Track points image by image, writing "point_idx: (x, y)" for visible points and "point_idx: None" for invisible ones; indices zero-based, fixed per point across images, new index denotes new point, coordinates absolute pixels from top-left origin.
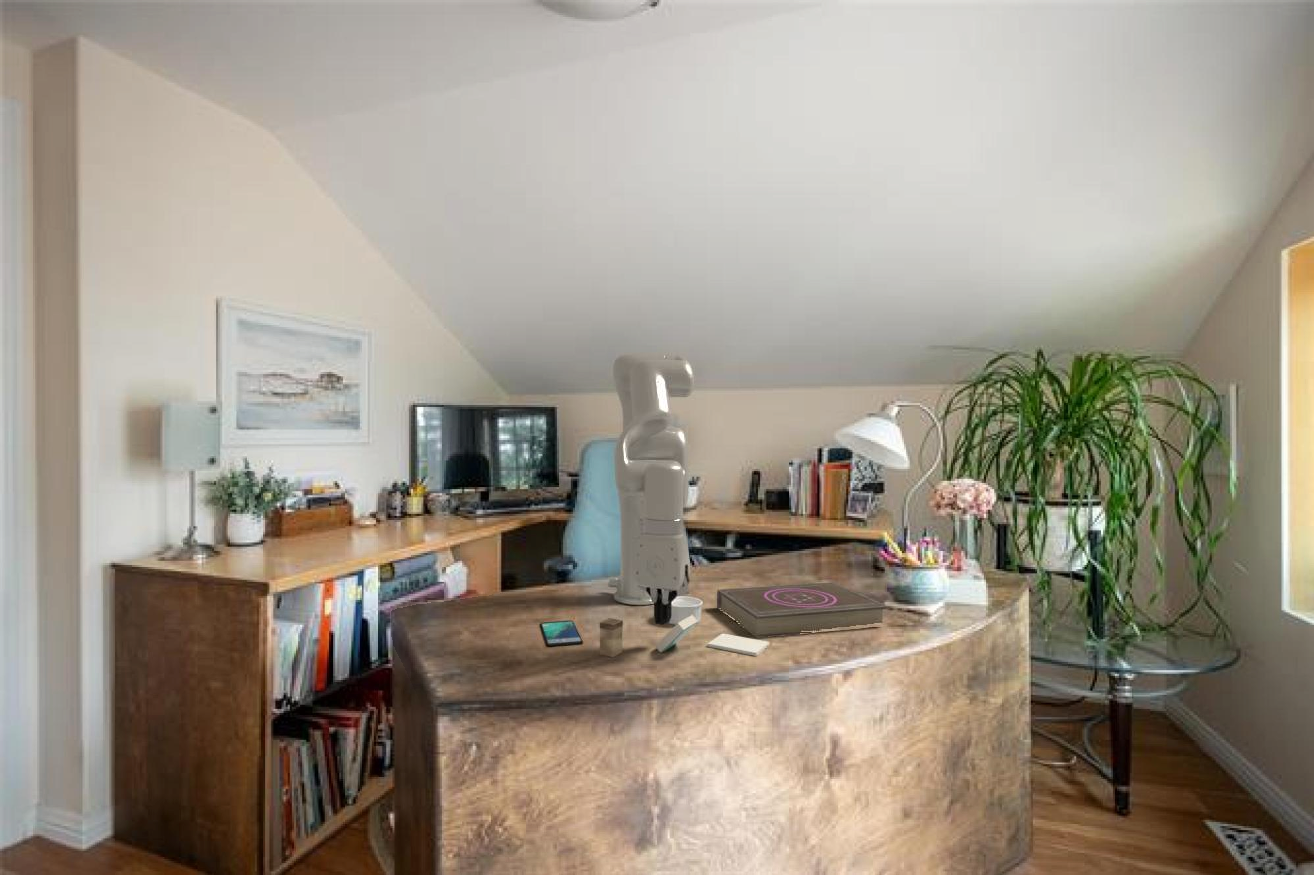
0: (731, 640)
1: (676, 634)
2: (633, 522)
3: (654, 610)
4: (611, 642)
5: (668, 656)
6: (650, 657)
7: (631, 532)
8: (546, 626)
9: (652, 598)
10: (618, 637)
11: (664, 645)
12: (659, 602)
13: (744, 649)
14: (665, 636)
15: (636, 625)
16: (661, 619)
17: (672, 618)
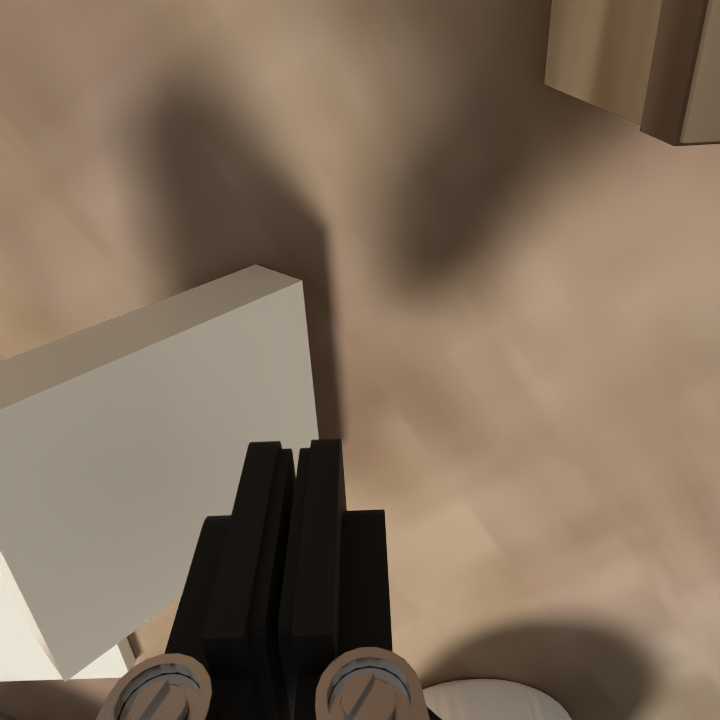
0: (6, 623)
1: (30, 356)
2: None
3: (381, 566)
4: None
5: (149, 228)
6: (251, 119)
7: None
8: None
9: (411, 713)
10: (610, 7)
11: (204, 292)
12: (296, 678)
13: None
14: (174, 331)
15: (686, 584)
16: (250, 475)
17: (489, 710)
